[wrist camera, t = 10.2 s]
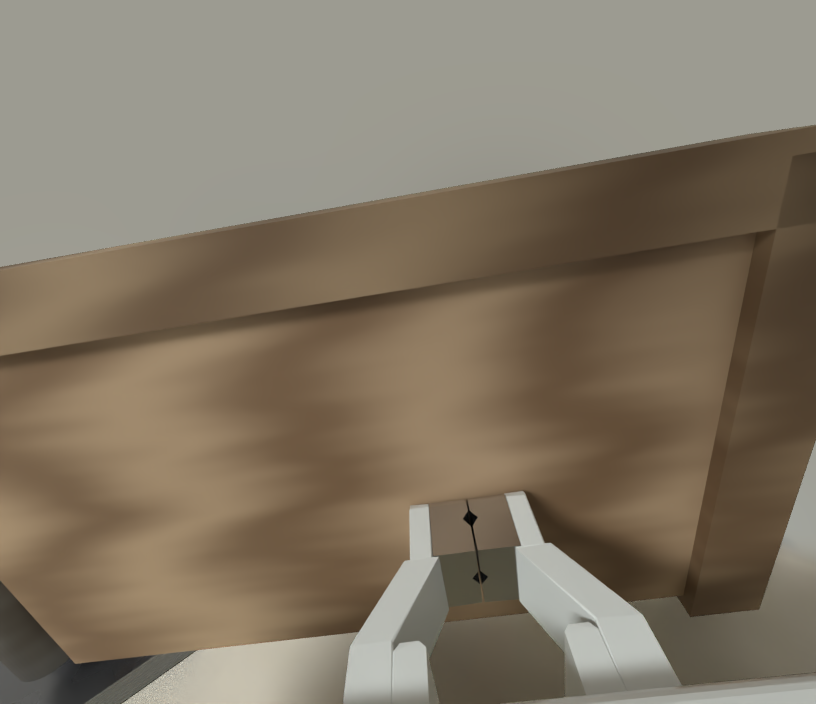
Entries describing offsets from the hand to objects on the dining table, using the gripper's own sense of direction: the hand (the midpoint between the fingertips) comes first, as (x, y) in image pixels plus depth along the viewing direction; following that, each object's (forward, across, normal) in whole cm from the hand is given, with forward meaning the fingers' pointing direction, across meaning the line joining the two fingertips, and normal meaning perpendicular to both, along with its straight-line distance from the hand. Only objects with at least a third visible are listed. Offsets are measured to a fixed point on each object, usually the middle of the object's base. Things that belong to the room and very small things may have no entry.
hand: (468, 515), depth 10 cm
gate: (+1, +4, +5) cm, 6 cm away
